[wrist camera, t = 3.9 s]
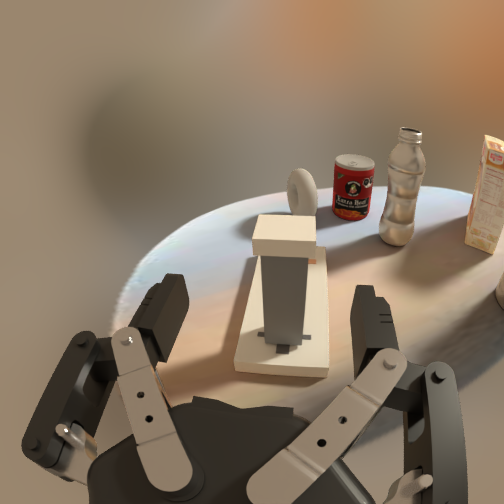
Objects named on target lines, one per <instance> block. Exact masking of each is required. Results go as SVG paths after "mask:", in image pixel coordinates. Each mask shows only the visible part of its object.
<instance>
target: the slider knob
mask: <svg viewBox="0 0 504 504" xmlns="http://www.w3.org/2000/svg"><path fill="white" fill-rule="evenodd" d="M252 245H253V255H257V256H260V259H261V279H262V298H263V318H264V339H265V343H271V344H285V345H302V338H303V327H304V316H305V303H306V290H307V276H308V260H309V258H315V251H316V220H315V216H294V215H261V214H259V216H258V220H257V223H256V227H255V230H254V234H253V237H252Z"/></svg>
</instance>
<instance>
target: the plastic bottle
mask: <svg viewBox="0 0 504 504" xmlns="http://www.w3.org/2000/svg"><path fill="white" fill-rule="evenodd" d="M421 137H422V132H421V131H419V130H416V129H412V128H406V127H401V128H400V132H399V136H398V140H400V142H399V144H398V145H397V146H396V147H395V148H394V149H393V150H392V152H391V153H390V155H389V157H388V191H387V199H386V203H385V207H384V211H383V214H382V216H381V219H380V222H379V234H380V236H381V238H382V240H383V241H385V242H386V243H388V244H390V245H394V246H402V245H405V244H407V243H408V242H409V241H410V240H411V238H412V235H413V233H414V217H415V209H416V202H417V196H418V193H419V189H420V185H421V182H422V179H423V176H424V172H425V168H426V163H425V159H424V156H423V153H422V152H421V149H420V147H419V145H420V144H421Z"/></svg>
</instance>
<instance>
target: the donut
mask: <svg viewBox="0 0 504 504" xmlns="http://www.w3.org/2000/svg"><path fill="white" fill-rule="evenodd" d="M287 196H288V202H289V207H290V210H291V212H292V214H293V215H294V216H315V214H316V211H317V205H318V196H317V189H316V185H315V182H314V180H313V177H312V176H311V175H310V173H309V172H308V171H306V170H304V169H301V168H299V169H296V170H294V171H292V172H291V174H290V176H289V178H288V182H287Z"/></svg>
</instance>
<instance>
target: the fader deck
mask: <svg viewBox="0 0 504 504" xmlns="http://www.w3.org/2000/svg"><path fill="white" fill-rule="evenodd" d="M233 362H234V367H235V371H239V372H249V373H259V374H271V375H284V376H301V377H325V378H327V374H328V370H329V317H328V287H327V266H326V249H325V247H319V246H316V251H315V258H309V260H308V276H307V290H306V303H305V316H304V327H303V338H302V345H285V344H271V343H265V339H264V318H263V298H262V279H261V259H260V256H258V260H257V265H256V269H255V273H254V277H253V281H252V286H251V290H250V294H249V298H248V302H247V307H246V311H245V315H244V319H243V323H242V327H241V331H240V336H239V340H238V344H237V348H236V352H235V356H234V360H233Z"/></svg>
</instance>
